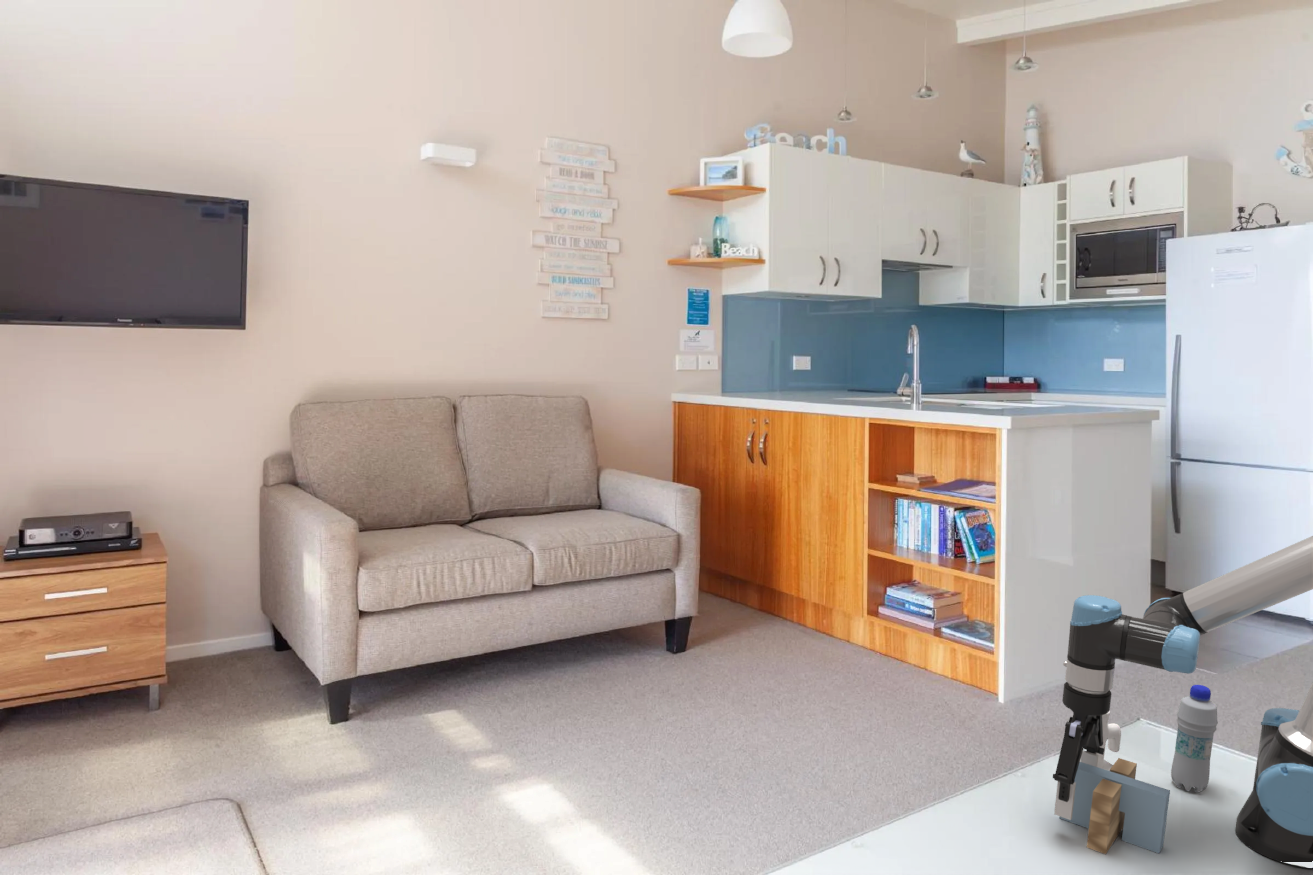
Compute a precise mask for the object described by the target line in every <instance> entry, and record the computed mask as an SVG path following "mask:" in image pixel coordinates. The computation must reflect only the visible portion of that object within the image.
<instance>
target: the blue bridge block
mask: <svg viewBox="0 0 1313 875" xmlns="http://www.w3.org/2000/svg"><path fill="white" fill-rule="evenodd" d="M1102 779H1105V780H1109V781H1112V782H1115V783H1118V784H1121V785H1122V787H1121V795H1120V803H1119V811H1121V812H1124V813H1125V818H1124V826H1123V829H1122V835H1121V836H1122V837H1121V841H1122V842H1126V843H1128V844H1131V845H1134V846H1137V847H1140V848H1142V849H1146V850H1148V851H1151V852H1153V853H1156V854H1159V853H1161V851H1162V849H1163V847H1164V841H1165V836H1166V835H1165V834H1166V827H1167V826H1166V825H1167V820H1168V811H1169V804H1170V797H1171V796H1170V795H1171V790H1170V789H1167V788H1164V787H1161V786H1158V785H1154V784H1151V783H1148V782H1145V781H1141V780H1138V779H1136V778H1135V779H1133V778H1130V777H1127V776H1123V775H1120V774H1117V773H1114V772H1111V771H1108V770H1104V769H1101V768H1098V767H1095V766H1092V765H1089V764H1085V763H1082V762H1080V763H1079V766H1078V770H1077V773H1076V776H1075V782H1076V787H1075V796H1074V805H1073V814H1072V819H1071V820H1069V819H1066V818H1063V817H1060V816H1058V818H1059V819H1061V820H1063V821H1066V822H1068V823H1071V824H1075V825H1076V826H1077V825H1078V826H1080V827H1083V828H1085V829H1087V830H1089V823H1090V814H1091V805H1092V797H1093V791H1094V789H1095V788H1096V787H1097V785H1098V784H1099V783H1100V782H1101V780H1102Z"/></svg>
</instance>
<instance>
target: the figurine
mask: <svg viewBox="0 0 1313 875" xmlns="http://www.w3.org/2000/svg"><path fill="white" fill-rule="evenodd" d="M1110 714H1111V710H1109V712H1108V713H1107V714H1104V715H1102V727H1103V745H1102V747H1101V746H1100V747H1101V748H1104V754H1103V755H1102V754H1099V753H1096V754H1097V755H1099V756H1098V765H1097V767H1098V768H1101V769H1104V770H1108V771H1110V769H1111V767H1112V766H1113V765H1114V764H1112V763H1110V762H1109V761H1108V760H1105V754H1106V753H1105V752H1106V743H1107V748H1108V750H1109V751H1110V752H1113V753H1118V752H1119V751H1120V749H1121V748H1120V747H1121V740H1122V730H1121V727H1120V725H1119V724H1117V723H1114V722H1113V723H1109V719H1110ZM1080 761H1081V759H1080Z"/></svg>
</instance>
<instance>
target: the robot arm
mask: <svg viewBox="0 0 1313 875" xmlns="http://www.w3.org/2000/svg"><path fill="white" fill-rule="evenodd" d="M1312 590H1313V535H1311V536H1309V537H1307V538H1304V539H1303V540H1300V541H1297V542H1295V543H1292V544H1291V545H1288V546H1285V547H1284V548H1282V549H1279V550H1278V551H1275V552H1272V553H1271V554H1268V555H1266V556H1263V557H1262V558H1259V559H1257V560H1254V561H1252V562H1249V563H1248V564H1245V565H1243V566H1241V567H1238V568H1236V569H1234V570H1231V571H1230V572H1229V571H1228V572H1227V573H1225V574H1223V575H1221V576H1218V577H1216V578H1213V579H1211V580H1209V581H1206V582H1204V583H1202V584H1199V585H1198V586H1195V587H1192V588H1191V589H1189V590H1186V591H1183V592H1182V593H1180V594H1177V595H1175V596H1171V597H1161V598H1159V599H1156V600H1155V601H1154V602H1152V603H1150V604H1149V606H1148V607H1147V608H1146V609H1145V611H1144V613H1143V617H1142V618H1140V617H1134V616H1130V615H1127V614H1123V611H1122V605H1121V603H1120V602H1119V601H1118V600H1116V599H1112V598H1108V597H1107V596H1103V595H1102V596H1101V595H1094V594H1092V595H1091V594H1090V595H1089V594H1087V595H1081V596H1079V597H1077V598H1076V599H1075V600H1074V601H1073V608H1072V613H1071V619H1070V621H1069V636H1068V647H1067V656H1066V659H1067V660H1065V661H1063V664H1062V665H1063V666H1064V667H1065V668H1066V669H1065V675H1064V676H1065V678H1064V679H1065V683H1064V684H1063V693H1062V704H1063V705H1064V706H1065V707H1066V708H1067V709H1070V711H1071V712H1072V713H1073V714H1072V716H1070V717H1069V719H1068V721H1066V722H1065V725H1064V726H1065V728H1064V734H1063V740H1062V743H1061V748H1060V752H1059V756H1058V761H1057V764H1056V769H1055V772H1054V773H1053V774H1052V779H1053V780H1054V781H1057V786H1056V793H1055V794H1056V795H1055V804H1054V813H1053V815H1055V816H1057V817H1059V816H1060V817H1063V818H1066V819H1069V820H1071V819H1072V814H1073V805H1074V796H1075V787H1076V782H1075V776H1076V773H1077V770H1078V766H1079V763H1080V762H1082V763H1085V764H1089V765H1092V766H1095V767H1097V765H1098V756H1099V755H1097V754H1096V753H1099V754H1102V755H1103V754H1104V755H1105V753H1104V748H1101V747H1102V745H1103V727H1102V715H1104V714H1107V713H1108V712H1109V711H1111V703H1112V702H1111V701H1112V691H1111V690H1112V689H1113V686H1114V678H1115V668H1116V667H1115V666H1116V660H1119V661H1124V662H1130V663H1133V664H1137V665H1142V666H1148V667H1151V668H1154V669H1155V668H1156V669H1161V670H1164V671H1166V672H1170V673H1182V674H1188V675H1189V674H1193V673H1194V672H1195V671H1196V669H1197V664H1198V658H1199V651H1200V645H1201V644H1200V642H1201V636H1203V635H1205V634H1207V633H1210V632H1212V631H1214V630H1216V629H1218V628H1219V629H1220V628H1222V627H1224V626H1227V625H1229V624H1231V623H1233V622H1236V621H1238V620H1241V619H1244V618H1245V617H1248V616H1251V615H1253V614H1255V613H1257V612H1260V611H1263V610H1266V609H1267V608H1271V607H1273V606H1275V605H1277V604H1280V603H1283V602H1285V601H1287V600H1290V599H1292V598H1295V597H1297V596H1299V595H1303V594H1305V593H1307V592H1309V591H1312ZM1260 725H1261V729H1260V739H1259V744H1258V745H1259V746H1258V749H1257V750H1258V751H1257V757H1256V766H1255V772H1254V778H1253V779H1254V780H1253V788H1252V791H1251V792H1250V794H1249V796H1248V798H1247V799H1246V801H1245V803H1244V804H1243V806H1242V807H1241V810H1239V813H1238V814H1237V816H1236V821H1235V828H1234V831H1235V834H1236V836H1237V837H1238V839H1240V841H1241V842H1242V843H1243V844H1245V846H1246V847H1248V848H1250V849H1251V850H1253V851H1254V852H1256V853H1258V854H1260V855H1262V856H1264V857H1266V858H1268V859H1271V860H1274V861H1276V862H1279V861H1282V862H1312V861H1313V681H1312V683H1311V685H1310V687H1309V689H1308V691H1307V693H1306V696H1305V698H1304V701H1303V702H1302V705H1301V707H1300V709H1299V710H1297V709H1293V708H1284V707H1273V708H1269V709H1267V710H1266V711H1265V712H1264V714H1263V718H1262V721H1261V722H1260ZM1100 746H1101V747H1100ZM1080 759H1081V761H1080ZM1282 862H1281V863H1282Z"/></svg>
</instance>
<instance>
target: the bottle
mask: <svg viewBox="0 0 1313 875" xmlns="http://www.w3.org/2000/svg"><path fill="white" fill-rule="evenodd" d="M1211 694H1212V692H1211V689H1210V688H1209V687H1207V686H1205V685H1203V684H1193V685H1191V686H1190V690H1189V695H1188V696H1184V697H1182V698H1181V699H1180V703H1179V707H1178V709H1177V710H1178V711H1177V712H1176V716H1177V718H1176V722H1177V731H1176V739H1175V746H1174V755H1173V758H1172V759H1173V760H1172V762H1171V763H1172V764H1171V769H1170V777H1171V780H1172V782H1173V783H1174V785H1175V786H1176V787H1178V788H1182V786H1184V790H1185V791H1187V792H1190V791H1191V790H1192V788H1194V792H1195V793H1200V792H1201V791H1204V790H1206V789H1207V787H1208V785H1209V781H1210V771H1211V770H1210V769H1211V768H1210V767H1211V758H1212V757H1211V756H1212V750H1213V749H1212V748H1213V742H1214V741H1213V740H1214V734H1215V732H1216V731H1217V725H1218V706H1217V704H1216V703H1214V702H1213V701H1211V698H1212V697H1211V696H1212V695H1211Z"/></svg>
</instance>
